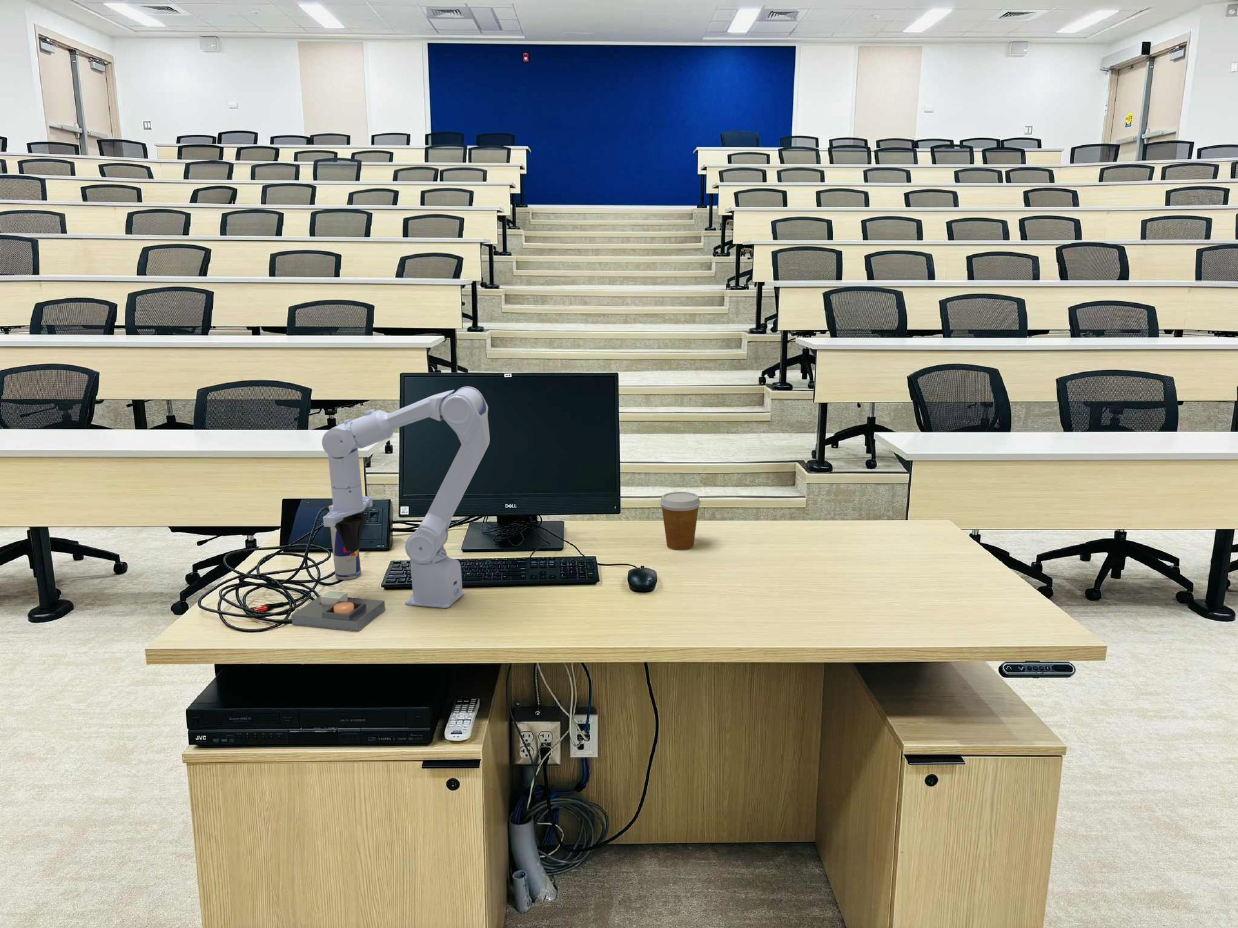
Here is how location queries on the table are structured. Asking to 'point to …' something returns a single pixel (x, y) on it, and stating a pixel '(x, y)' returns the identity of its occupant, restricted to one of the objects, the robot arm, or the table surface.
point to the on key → (333, 597)
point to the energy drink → (344, 558)
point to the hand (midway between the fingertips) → (352, 550)
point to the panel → (338, 614)
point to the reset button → (344, 608)
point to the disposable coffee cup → (680, 518)
